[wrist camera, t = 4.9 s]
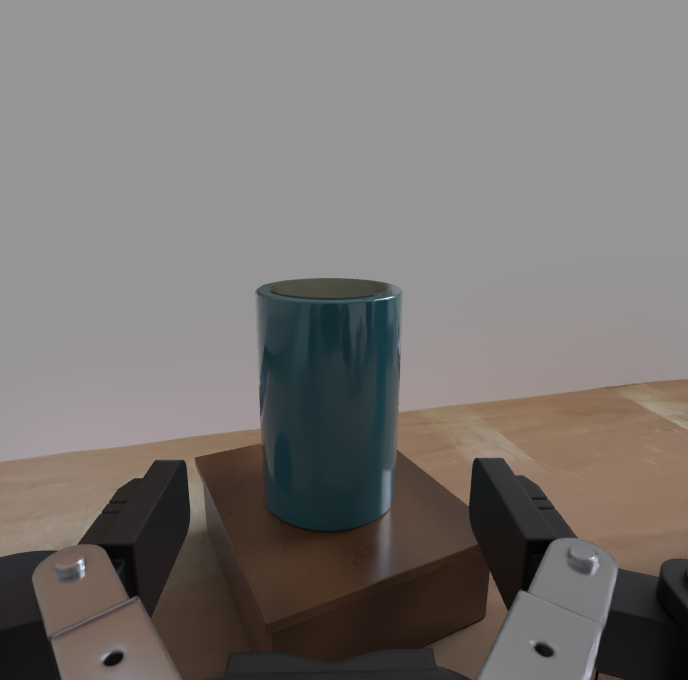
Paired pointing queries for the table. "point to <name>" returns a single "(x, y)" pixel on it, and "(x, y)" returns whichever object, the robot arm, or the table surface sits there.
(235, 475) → the riser
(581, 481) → the table surface
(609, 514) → the table surface
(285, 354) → the tumbler
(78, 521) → the table surface
